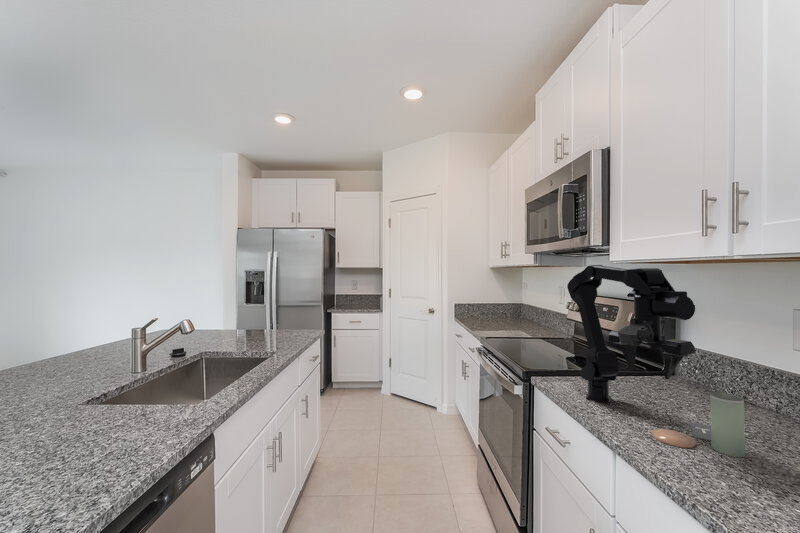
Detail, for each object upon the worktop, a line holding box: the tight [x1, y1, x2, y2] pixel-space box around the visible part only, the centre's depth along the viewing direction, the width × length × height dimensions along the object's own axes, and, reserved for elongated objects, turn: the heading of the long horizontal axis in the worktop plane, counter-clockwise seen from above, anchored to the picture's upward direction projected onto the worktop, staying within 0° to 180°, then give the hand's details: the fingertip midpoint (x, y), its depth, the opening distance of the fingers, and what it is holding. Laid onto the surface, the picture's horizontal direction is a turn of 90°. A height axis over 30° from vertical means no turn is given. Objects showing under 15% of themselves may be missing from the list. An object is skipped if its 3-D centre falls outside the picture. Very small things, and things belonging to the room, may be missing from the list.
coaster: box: [652, 428, 697, 449], centre depth 80 cm, size 8×8×1 cm
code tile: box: [688, 421, 711, 442], centre depth 83 cm, size 10×8×1 cm
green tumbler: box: [709, 391, 746, 458], centre depth 75 cm, size 6×6×12 cm
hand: (648, 374), depth 89 cm, fingers open, 9 cm apart
